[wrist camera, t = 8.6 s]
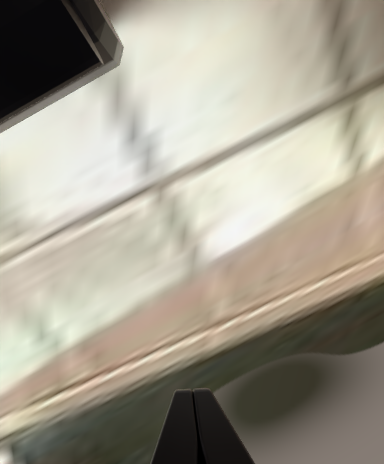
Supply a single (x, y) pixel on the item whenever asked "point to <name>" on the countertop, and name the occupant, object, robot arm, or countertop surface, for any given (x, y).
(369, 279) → the countertop surface
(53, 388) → the countertop surface
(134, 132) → the countertop surface
